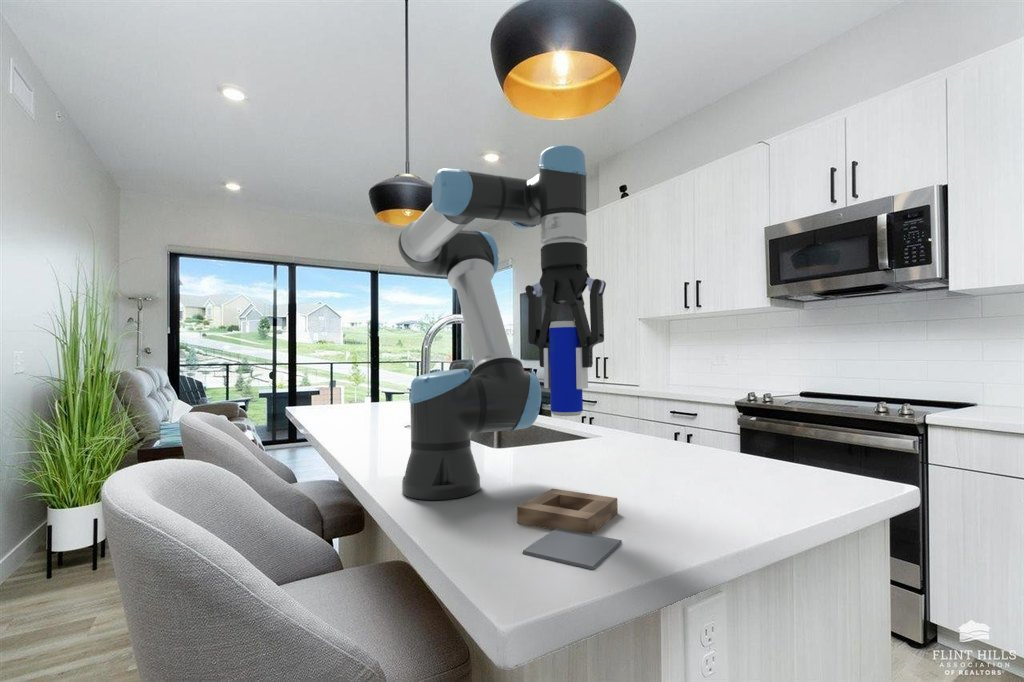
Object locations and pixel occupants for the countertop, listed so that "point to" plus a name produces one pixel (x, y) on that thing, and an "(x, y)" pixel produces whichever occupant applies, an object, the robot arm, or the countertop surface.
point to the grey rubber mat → (573, 548)
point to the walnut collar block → (568, 511)
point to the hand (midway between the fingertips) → (565, 387)
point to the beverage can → (564, 369)
